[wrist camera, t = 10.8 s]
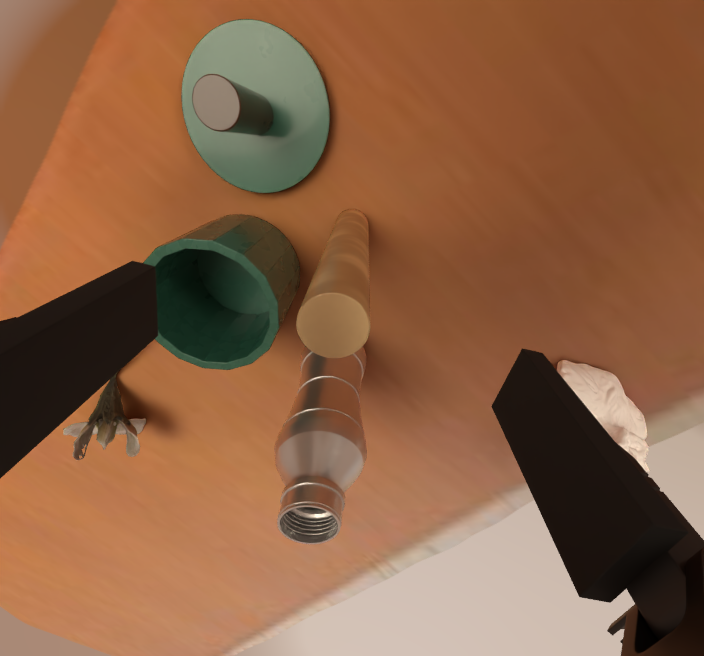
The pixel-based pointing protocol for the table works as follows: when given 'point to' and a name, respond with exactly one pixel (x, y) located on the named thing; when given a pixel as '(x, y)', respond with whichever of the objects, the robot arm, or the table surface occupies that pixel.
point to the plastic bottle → (321, 446)
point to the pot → (224, 291)
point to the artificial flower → (107, 423)
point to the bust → (609, 406)
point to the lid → (255, 106)
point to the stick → (339, 292)
